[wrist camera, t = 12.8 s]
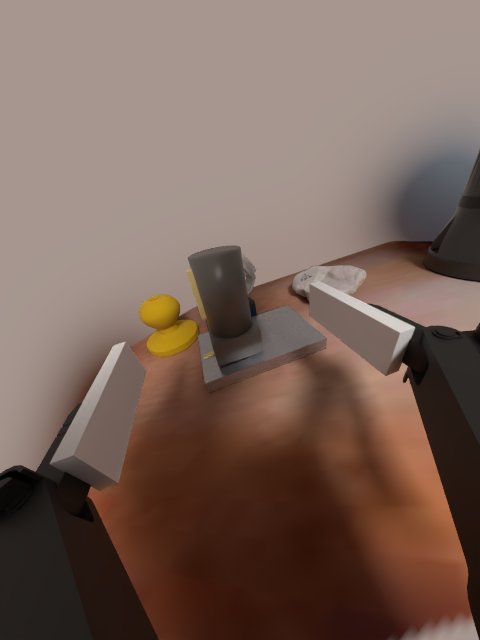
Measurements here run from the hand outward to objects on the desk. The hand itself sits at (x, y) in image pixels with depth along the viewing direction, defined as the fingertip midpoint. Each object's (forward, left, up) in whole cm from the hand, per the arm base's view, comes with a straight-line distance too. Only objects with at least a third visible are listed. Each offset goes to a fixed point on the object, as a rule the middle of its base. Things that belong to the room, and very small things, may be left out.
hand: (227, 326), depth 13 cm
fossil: (-18, -13, -9) cm, 24 cm away
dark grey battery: (-1, -6, -7) cm, 10 cm away
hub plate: (-3, -7, -9) cm, 12 cm away
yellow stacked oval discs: (+8, -15, -9) cm, 19 cm away
